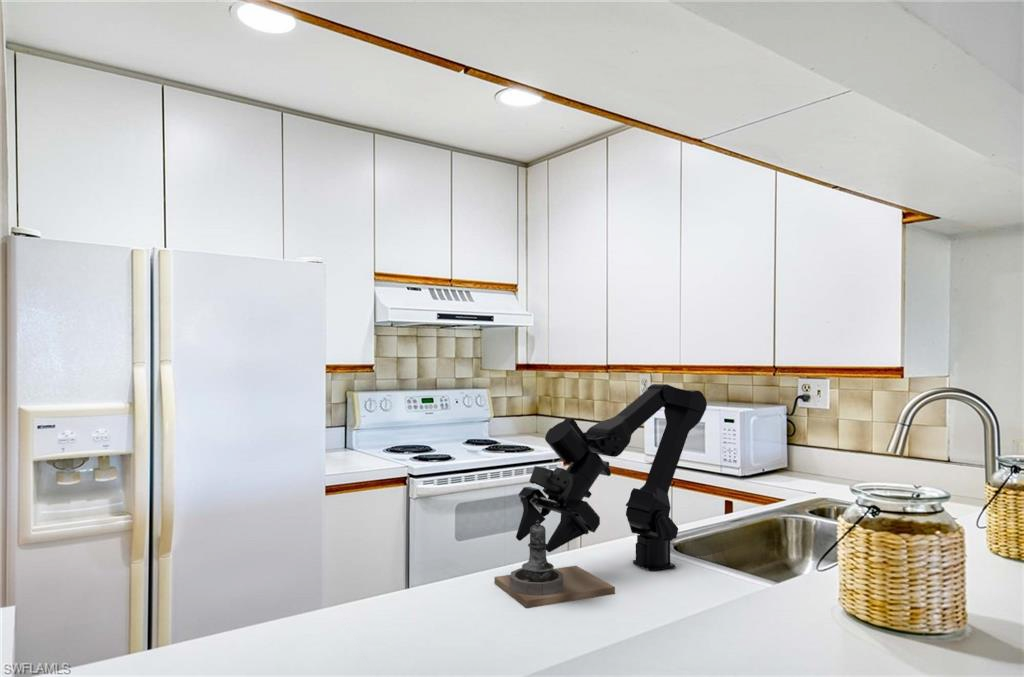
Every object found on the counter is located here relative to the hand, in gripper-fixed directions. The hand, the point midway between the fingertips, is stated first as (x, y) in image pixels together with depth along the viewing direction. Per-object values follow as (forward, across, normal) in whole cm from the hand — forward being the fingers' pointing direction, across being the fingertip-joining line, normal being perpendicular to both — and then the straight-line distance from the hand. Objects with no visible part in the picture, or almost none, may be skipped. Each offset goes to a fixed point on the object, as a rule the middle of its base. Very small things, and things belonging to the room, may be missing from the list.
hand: (531, 544), depth 116 cm
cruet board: (+3, 0, +10) cm, 10 cm away
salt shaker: (+5, 0, +6) cm, 8 cm away
